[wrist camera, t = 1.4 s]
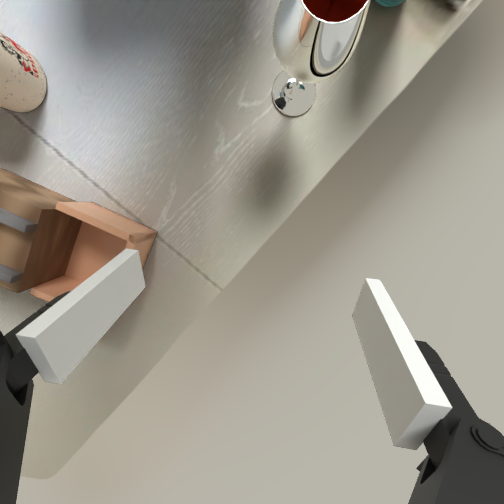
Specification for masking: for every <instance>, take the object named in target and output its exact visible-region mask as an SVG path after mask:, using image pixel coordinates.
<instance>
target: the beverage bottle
mask: <svg viewBox="0 0 504 504" xmlns="http://www.w3.org/2000/svg"><path fill="white" fill-rule="evenodd" d="M376 1H377V2H378V3H379V4H381V5H383V6H386V7H393V6H397V5H399V4H401V3H402V2H404V1H405V0H376Z"/></svg>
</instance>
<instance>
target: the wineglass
mask: <svg viewBox="0 0 504 504" xmlns="http://www.w3.org/2000/svg"><path fill="white" fill-rule="evenodd" d="M370 2H371V0H280V2H279V4H278V7H277V10H276V14H275V18H274V23H273V46H274V51H275V54H276V57H277V60H278V62H279V64H280V65H281V67H282V68H283V70H284V71H282V72H281V73H280V74H279V75H278V76H277V78H276V79H275V81H274V84H273V88H272V97H273V101H274V104H275V106H276V107H277V109H278V110H279V111H280V112H282V113H283V114H285V115H288V116H299V115H301V114H303V113H305V112H306V111H307V110H308V109H309V108H310V107H311V106H312V104H313V102H314V100H315V96H316V85H315V83H320V82H323V81H326V80H328V79H330V78H332V77H333V76H335V75H336V74H337V73H339V72H340V71H341V70H342V69H343V68H344V67H345V65H346V64H347V63H348V62H349V60H350V59H351V57H352V55H353V53H354V52H355V50H356V47H357V45H358V43H359V40H360V37H361V34H362V31H363V28H364V24H365V21H366V17H367V14H368V10H369V6H370Z"/></svg>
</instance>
